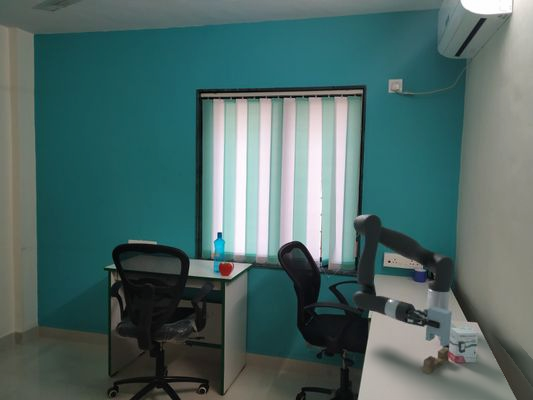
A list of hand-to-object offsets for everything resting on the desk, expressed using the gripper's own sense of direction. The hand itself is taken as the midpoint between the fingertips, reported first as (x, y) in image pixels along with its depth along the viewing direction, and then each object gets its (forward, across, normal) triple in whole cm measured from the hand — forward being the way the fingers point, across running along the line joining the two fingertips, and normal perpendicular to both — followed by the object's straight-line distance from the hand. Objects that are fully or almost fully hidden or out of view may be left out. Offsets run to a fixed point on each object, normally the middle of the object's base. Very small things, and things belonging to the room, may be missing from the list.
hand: (442, 324), depth 149 cm
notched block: (-1, 0, +7) cm, 7 cm away
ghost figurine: (-6, +21, +17) cm, 28 cm away
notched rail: (-1, 0, +16) cm, 17 cm away
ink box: (+3, +13, +17) cm, 21 cm away
